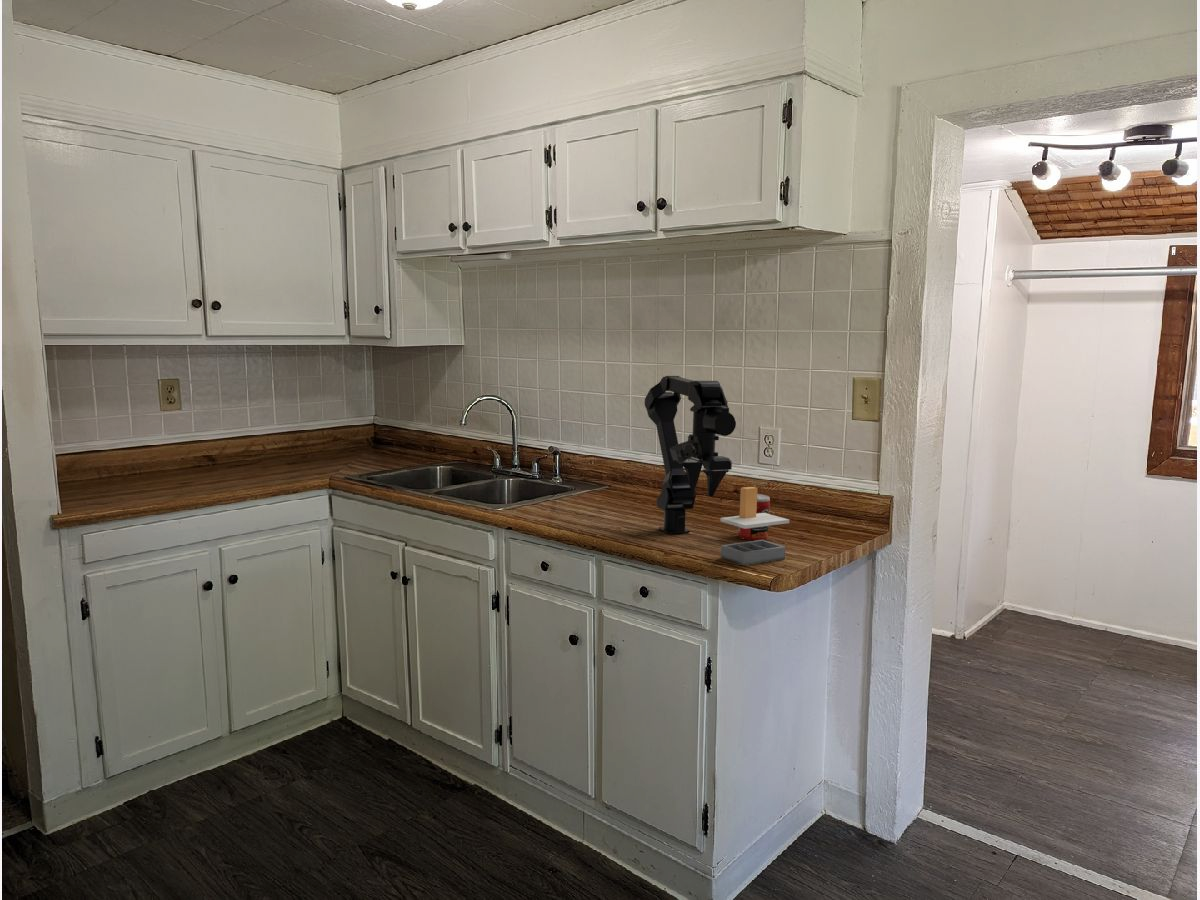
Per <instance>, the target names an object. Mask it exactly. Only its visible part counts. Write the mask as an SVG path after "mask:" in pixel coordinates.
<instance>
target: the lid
mask: <svg viewBox="0 0 1200 900" xmlns="http://www.w3.org/2000/svg"><path fill="white" fill-rule="evenodd" d="M739 494H740V496H739V504H740V514H739V513H738V515H734V516H727V517H720V522H722V523H725V524H728V525H731V526H735V527H741V528H744V529H747V528H755V527H762V526H768V527H769V526H777V525H785V524H790V518H789V519H788V518H785V517H781V516H777V515H774V514H770V513H769V514H767V513H758V514H756V510H757V494H758V487H754V486H746V487H740V493H739Z"/></svg>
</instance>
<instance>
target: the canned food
mask: <svg viewBox="0 0 1200 900" xmlns="http://www.w3.org/2000/svg"><path fill="white" fill-rule="evenodd" d="M770 505H771V499H770V496H768V495H766V494H761V493H757V510H756V514H758V513H767V514H770V509H771V507H770ZM738 507H739V508H738V510H739V511H738V515H739V514H740V503H739V506H738ZM737 529H738V530H737V531H738V532H737V533H738V537H739V538H740V539H742V538H744V539H743V540H745V539H748V540H747V541H751V540H765V539H766V540H767V539H768V537H769V536H768V535H769V526H762V527H755V528H747V529H744V528H741V527H738V528H737ZM766 540H765V541H766Z"/></svg>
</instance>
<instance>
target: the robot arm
mask: <svg viewBox="0 0 1200 900" xmlns="http://www.w3.org/2000/svg"><path fill="white" fill-rule="evenodd" d="M681 395H682V396H686V397H687V400H688V401H690V402H691V403H693V406H691V407H690V409H689V411H690V412H693V417H692V433H691V434H689V435H688V436H687V441H683V442H680V443H679V440H678V436H677V431H676V426H675V421H674V420H675V418H676V416H677V414H678V406H679V403H680V402H681V400H682V396H681ZM644 407H645V409H646V412H647V416H648V418H649V419H650V420H651V421H652V422H653V423H654V424H655V426H656V430H657V435H658V440H659V441H658V442H659V445H660V446H659V447H660V450H661V451H660V452H661V457H662V461H663V467H664V472H665V476H664V479H663V482H662V483H661V489H662V491H661V492H660V494H659V495H658V497H657V498H656V508H658V509H660V510H662V511H663V526H659V527H658V530H660V531H661V532H663V533H666V534H668V535H672V534H673V535H676V534H686V533H687V534H688V533H691V530H689V529H688V528H686V518H687V517H686V513H687V510H693V509H694V505H695V501H696V497H697V491H696V487H697V486H698V482H699V478H700V475H701V471H702V472H703V473H704V474H705V475H706V483H707V484H706V485H707V486H706V487H707V495H708V497H709V498H710V497H714V495H715V493H716V492H717V489H718V487H719V485H720V483H721V482H722V480H723V479H724V477H725V476H726V474H727V473H729V472H730V471H731V470H733V469H732V467H733V460H731V459H730V458H729V457H726V456H724V455H719V451H716V441H719V440H720V436H723V437H728V436H729V435H732V433H734V432H735V429H736V425H737V421H736V418H735V416H734V415H733V414H732V413H731V412H730V407H729V405H728V399H727V398H726V396H725V393H724V390H723V387H722V386H721V382H719V381H718V380H693V379H688V378H685V377H681V376H680V375H665V376H663V377H661V379H660V381H659V382H658V383H656V384H655V385H653V386H652V387H651V388H650V389H649V391H648V392H647V394H646V396H645V398H644ZM702 467H703V468H702Z"/></svg>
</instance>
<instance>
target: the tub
mask: <svg viewBox="0 0 1200 900" xmlns="http://www.w3.org/2000/svg"><path fill="white" fill-rule="evenodd" d="M720 546H721V547H720V558H721V557H722V558H721V559H723V558H725V559H724V560H726V559H727V560H726V561H728V560H730V561H729V562H731V561H733V562H732V563H734V562H736V563H735V564H737V563H739V564H741V566H742V565H746V566H748V565H747V564H752V565H754V564H753V563H758V564H762V562H765V563H770V562H769V561H771V562H775V561H776V560H777V561H781V560H785V559H786V546H785V545H781V544H777V543H774V542H772V541H768V540H756V541H751V540H748V541H743V542H736V543H730V544H723V545H720ZM739 564H738V565H739Z"/></svg>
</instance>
